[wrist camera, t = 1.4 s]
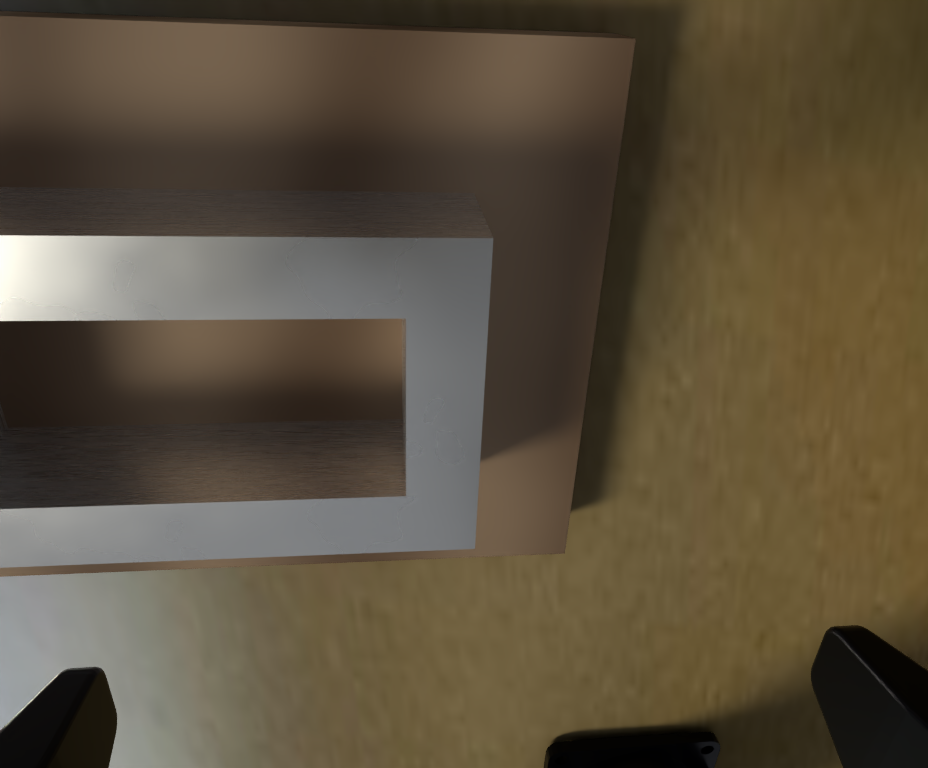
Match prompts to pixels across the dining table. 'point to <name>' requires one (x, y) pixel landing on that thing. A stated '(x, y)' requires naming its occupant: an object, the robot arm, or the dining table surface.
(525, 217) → the keeper board
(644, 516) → the dining table surface
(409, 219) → the grey rectangular frame
